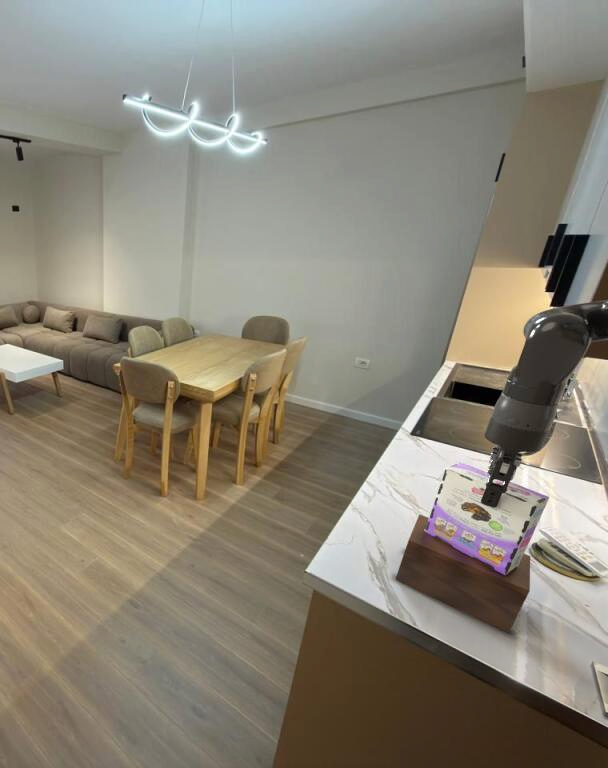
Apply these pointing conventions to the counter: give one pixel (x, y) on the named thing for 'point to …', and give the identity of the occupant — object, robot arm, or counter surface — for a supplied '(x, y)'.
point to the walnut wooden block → (463, 579)
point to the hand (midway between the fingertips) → (489, 496)
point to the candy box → (484, 518)
